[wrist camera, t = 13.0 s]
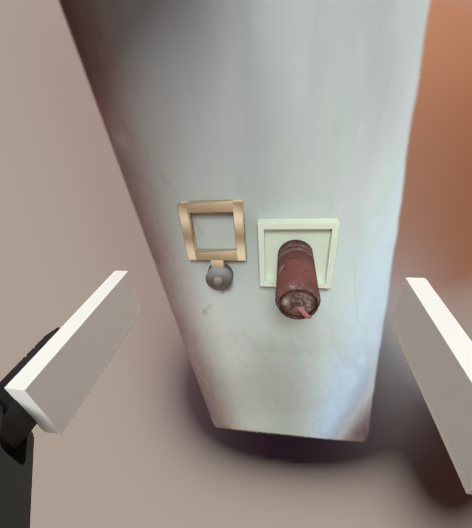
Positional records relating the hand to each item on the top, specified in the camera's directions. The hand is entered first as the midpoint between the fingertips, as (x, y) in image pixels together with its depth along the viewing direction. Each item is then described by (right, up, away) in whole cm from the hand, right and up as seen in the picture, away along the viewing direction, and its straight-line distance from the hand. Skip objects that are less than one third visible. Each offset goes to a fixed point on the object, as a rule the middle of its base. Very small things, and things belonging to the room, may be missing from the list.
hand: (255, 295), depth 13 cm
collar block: (-5, +5, +37) cm, 38 cm away
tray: (+10, +4, +35) cm, 37 cm away
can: (+10, +4, +35) cm, 36 cm away
